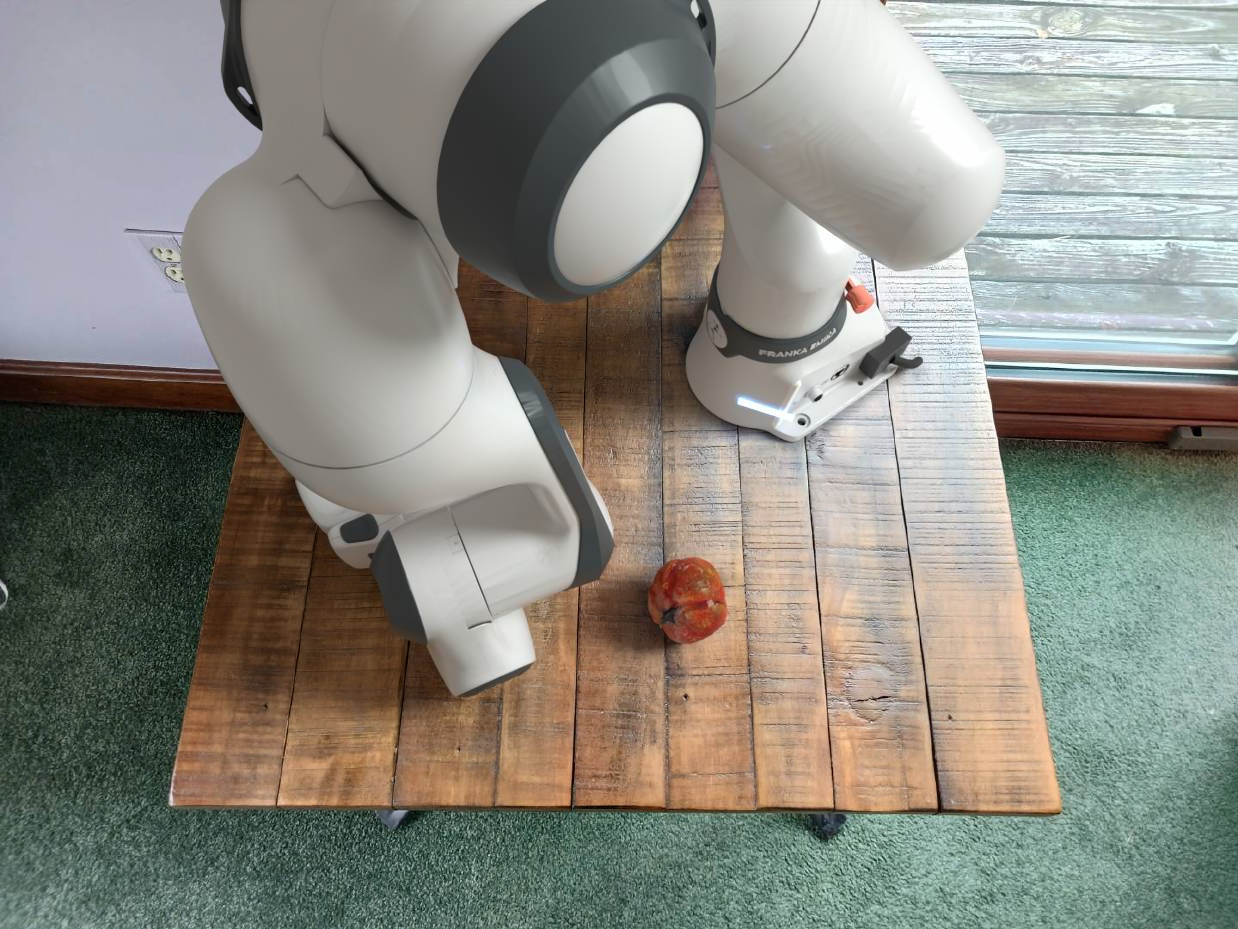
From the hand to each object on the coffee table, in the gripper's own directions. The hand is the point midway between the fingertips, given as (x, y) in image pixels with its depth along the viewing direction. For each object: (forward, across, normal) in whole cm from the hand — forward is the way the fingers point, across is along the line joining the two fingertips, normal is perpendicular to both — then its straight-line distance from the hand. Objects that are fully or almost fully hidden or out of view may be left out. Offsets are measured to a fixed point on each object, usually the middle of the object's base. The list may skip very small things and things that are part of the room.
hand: (386, 397), depth 78 cm
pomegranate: (-29, -18, +6) cm, 35 cm away
